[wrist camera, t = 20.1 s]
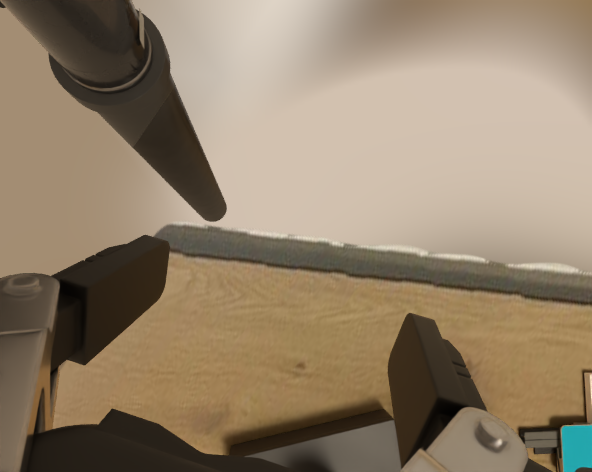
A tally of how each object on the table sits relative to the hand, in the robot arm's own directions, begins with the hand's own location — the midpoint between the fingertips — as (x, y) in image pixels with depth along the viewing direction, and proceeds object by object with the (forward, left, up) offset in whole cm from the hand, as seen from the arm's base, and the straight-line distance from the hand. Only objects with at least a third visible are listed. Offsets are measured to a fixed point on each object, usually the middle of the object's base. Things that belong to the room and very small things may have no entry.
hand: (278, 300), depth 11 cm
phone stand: (+41, +5, -25) cm, 48 cm away
